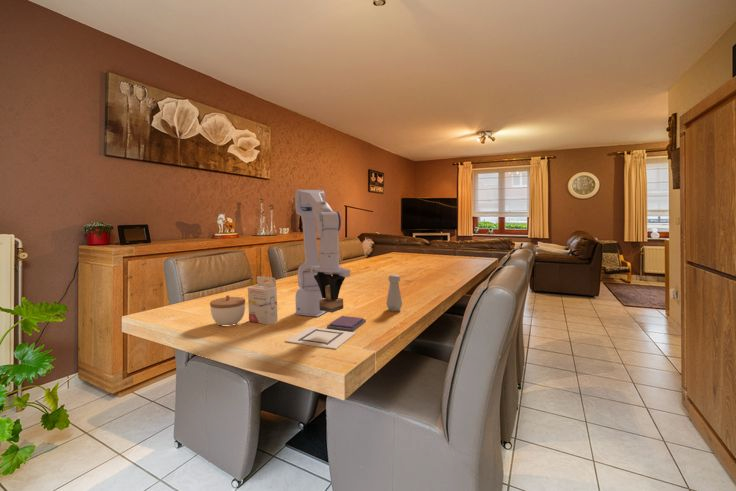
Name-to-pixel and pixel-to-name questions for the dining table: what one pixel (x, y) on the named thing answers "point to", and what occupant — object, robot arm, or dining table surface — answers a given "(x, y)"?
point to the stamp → (330, 302)
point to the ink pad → (346, 323)
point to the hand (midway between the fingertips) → (330, 298)
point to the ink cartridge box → (263, 301)
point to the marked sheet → (321, 337)
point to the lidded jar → (228, 310)
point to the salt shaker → (394, 294)
